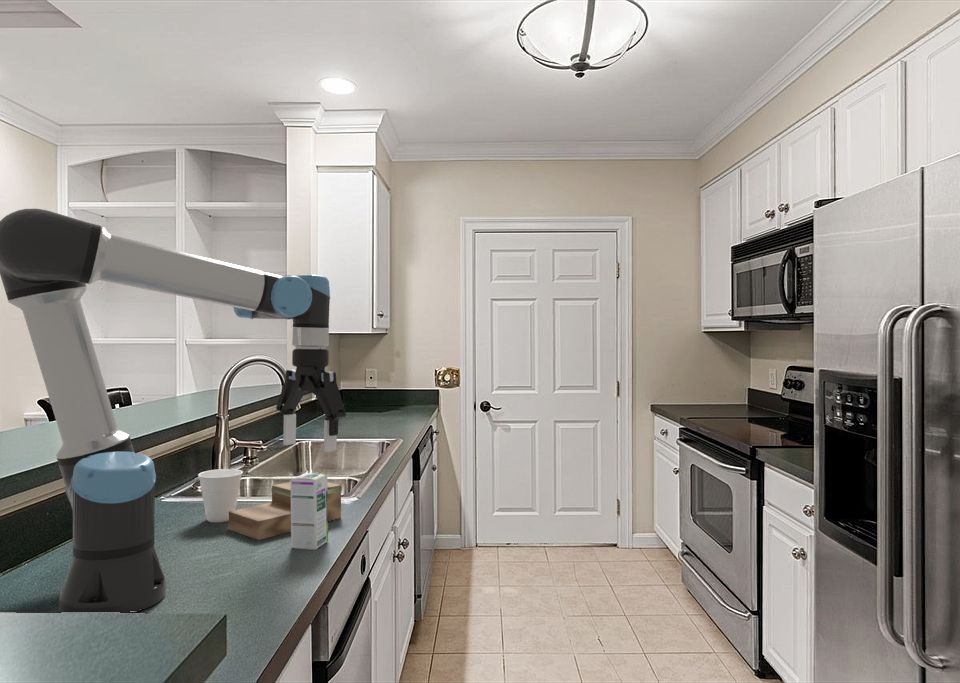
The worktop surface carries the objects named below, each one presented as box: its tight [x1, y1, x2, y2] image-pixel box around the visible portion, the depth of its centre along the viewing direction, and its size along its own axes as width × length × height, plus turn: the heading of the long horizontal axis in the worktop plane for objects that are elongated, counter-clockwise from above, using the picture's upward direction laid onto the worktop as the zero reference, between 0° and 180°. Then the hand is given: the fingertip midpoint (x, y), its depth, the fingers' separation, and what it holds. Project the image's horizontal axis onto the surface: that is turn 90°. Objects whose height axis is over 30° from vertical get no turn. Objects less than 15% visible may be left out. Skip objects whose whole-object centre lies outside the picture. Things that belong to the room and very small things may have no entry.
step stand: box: [228, 481, 343, 541], centre depth 151 cm, size 22×13×8 cm, turn 141°
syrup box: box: [289, 472, 329, 551], centre depth 135 cm, size 6×6×14 cm
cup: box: [197, 468, 244, 524], centre depth 154 cm, size 10×10×11 cm
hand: (309, 447), depth 139 cm, fingers open, 13 cm apart
